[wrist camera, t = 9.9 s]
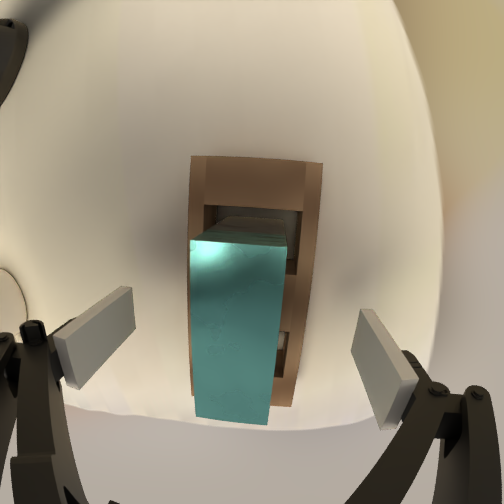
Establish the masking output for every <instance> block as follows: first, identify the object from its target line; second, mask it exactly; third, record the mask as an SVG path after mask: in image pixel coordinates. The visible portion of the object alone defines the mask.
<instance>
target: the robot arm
mask: <svg viewBox="0 0 504 504" xmlns="http://www.w3.org/2000/svg"><path fill="white" fill-rule="evenodd" d="M27 40H28V31H27V27H26V25H25V24H23V23H21V22H19V21H17V20H15V19H0V105H1V103H2V102H3V100H4V99H5V97H6V95H7V93H8V92H9V90H10V88H11V86H12V84H13V82H14V80H15V77H16V75H17V73H18V71H19V68H20V66H21V63H22V60H23V57H24V54H25V50H26V46H27ZM135 329H136V326H135V316H134V306H133V294H132V288H131V287H124V286H121V287H119V288H118V289H116V290H115V291H113V292H112V293H110V294H109V295H108V296H106V297H105V298H103V299H102V300H101V301H99V302H98V303H96V304H95V305H93V306H92V307H91V308H89V309H88V310H86V311H85V312H84V313H82V314H81V315H79V316H78V317H75V318H73V319H70V320H69V321H67V322H66V323H65V324H64V325H62V326H60V327H59V328H58V329H56V330H55V331H54V332H52V333H51V334H49V335H48V336H46V332H45V327H44V324H43V322H42V321H39V320H29V321H26V322H24V323H22V324H21V325H20V327H19V330H20V333H21V337H22V340H23V343H16V342H15V339H14V336H13V334H12V333H9V332H2V333H0V485H1V479H2V474H3V469H4V464H5V459H6V455H7V451H8V446H9V442H10V439H11V435H12V431H13V428H14V424H15V420H16V418H17V453H18V455H17V457H12V458H11V460H10V469H11V481H12V490H13V497H14V504H89V503H88V501H87V499H86V497H85V494H84V491H83V488H82V485H81V482H80V479H79V474H78V471H77V467H76V464H75V459H74V455H73V451H72V447H71V442H70V437H69V432H68V427H67V421H66V416H65V410H64V402H63V394H62V386H61V383H60V379H61V378H62V377H63V376H64V378H65V381H66V384H67V386H70V387H72V388H75V389H77V390H80V389H81V388H82V387H83V386H84V384H85V383H86V382H87V381H88V380H89V379H90V378H91V377H92V376H93V374H94V373H95V372H96V371H97V370H98V369H99V368H100V367H101V366H102V365H103V364H104V362H105V361H106V360H107V359H108V358H109V357H110V356H111V355H112V354H113V353H114V352H115V350H116V349H117V348H118V347H119V346H120V345H121V344H122V343H123V342H124V341H125V340H126V339H127V338H128V337H129V335H130V334H131V333H132V332H133V331H134V330H135ZM351 353H352V355H353V358H354V361H355V363H356V366H357V368H358V371H359V374H360V376H361V379H362V381H363V384H364V387H365V389H366V392H367V395H368V398H369V400H370V403H371V406H372V409H373V411H374V414H375V417H376V420H377V423H378V426H379V428H380V430H388V429H396V428H397V426H398V424H399V422H400V420H402V422H403V423H402V425H401V426H400V428H399V430H398V431H397V433H396V435H395V436H394V438H393V439H392V441H391V443H390V444H389V445H388V447H387V449H386V450H385V452H384V453H383V454H382V456H381V457H380V459H379V460H378V462H377V463H376V464H375V466H374V467H373V469H372V470H371V471H370V473H369V474H368V475H367V477H366V478H365V479H364V480H363V482H362V483H361V484H360V485H359V487H358V488H357V489H356V490H355V492H354V493H353V494H352V495H351V496H350V498H349V499H348V500H347V501H346V502H345V504H400V503H401V502H402V500H403V498H404V497H405V495H406V493H407V491H408V490H409V488H410V486H411V484H412V483H413V480H414V479H415V477H416V475H417V473H418V471H419V469H420V467H421V465H422V463H423V461H424V459H425V457H426V455H427V453H428V451H429V448H430V446H431V444H432V442H433V439H434V438H437V439H440V451H439V461H438V470H437V477H436V484H435V491H434V496H433V501H432V504H502V482H501V465H500V454H499V444H498V436H497V430H496V423H495V417H494V412H493V407H492V402H491V397H490V394H489V392H488V391H487V390H486V389H485V388H483V387H481V386H477V385H476V386H475V385H472V386H469V387H468V388H467V389H466V390H465V392H464V394H463V395H460V394H450V391H449V389H448V388H447V387H446V386H445V385H443V384H441V383H439V382H432V380H431V379H430V377H429V376H428V374H427V373H426V371H425V370H424V369H423V368H422V366H421V364H420V363H419V361H418V360H417V358H416V357H415V356H414V355H413V354H412V353H410V352H409V351H407V350H400V348H399V347H398V345H397V344H396V342H395V341H394V339H393V338H392V337H391V335H390V334H389V332H388V331H387V329H386V328H385V326H384V325H383V323H382V322H381V321H380V319H379V318H378V316H377V315H376V313H375V312H374V311H373V310H372V309H360V313H359V318H358V322H357V327H356V331H355V335H354V340H353V344H352V348H351ZM108 504H119V503H117V502H114V501H111V500H110V501H109V503H108Z"/></svg>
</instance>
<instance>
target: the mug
mask: <svg viewBox="0 0 504 504" xmlns="http://www.w3.org/2000/svg"><path fill="white" fill-rule="evenodd" d="M26 318H27V312H26V305H25V301H24V298H23V295H22V293H21V290H20V288H19V286H18V284H17V283H16V281H15V280H14V278H13V277H12V276H11V275H10V274H9V273H8V272H6V271H5V270H2V269H0V333H2V332H9V333H12V334H13V336H14V339H15V342H16V343H17V340H16V335H17V334H18V333H19V332H20V330H19V327H20V325H21V324H22V323H24V322H26Z"/></svg>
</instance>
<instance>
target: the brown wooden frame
mask: <svg viewBox="0 0 504 504" xmlns="http://www.w3.org/2000/svg"><path fill="white" fill-rule="evenodd" d="M322 170H323V163H314V162H304V161H293V160H281V159H267V158H250V157H226V156H191V165H190V183H189V206H188V243H187V302H188V339H189V362H190V379H191V394H192V396H194V384H193V366H192V345H191V314H190V240H191V239H193V238H195V237H196V236H198V235H199V234H201V233H202V232H204V231H206V230H207V229H209V228H210V227H212V226H213V225H215V224H216V216H217V205H223V206H239V207H254V208H268V209H281V210H293V211H298V214H297V226H296V237H295V248H294V258H293V260H292V259H286V269H285V279H284V289H283V299H282V309H281V318H280V328H279V331H285V337H284V345H283V350H277V354H276V362H275V370H274V378H273V386H272V393H271V401H270V406H284V407H291V405H292V400H293V395H294V389H295V384H296V379H297V373H298V368H299V362H300V356H301V350H302V344H303V338H304V332H305V326H306V319H307V312H308V305H309V298H310V291H311V283H312V275H313V267H314V258H315V249H316V240H317V230H318V220H319V209H320V197H321V184H322Z"/></svg>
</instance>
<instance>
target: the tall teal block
mask: <svg viewBox="0 0 504 504" xmlns="http://www.w3.org/2000/svg"><path fill="white" fill-rule="evenodd" d="M286 258H287V242H286V235H285V229H284V223H283V219H270V218H256V217H241V216H228V217H226V218H225V219H223V220H221V221H220V222H218V223H217V224H215V225H213V226H212V227H210V228H209V229H207V230H206V231H204V232H202V233H201V234H199V235H198V236H196V237H195V238H193V239H191V240H190V314H191V345H192V366H193V384H194V398H195V411H196V417H202V418H208V419H215V420H222V421H230V422H238V423H247V424H258V425H267V422H268V415H269V408H270V401H271V393H272V386H273V378H274V370H275V362H276V354H277V345H278V336H279V328H280V318H281V309H282V299H283V289H284V279H285V269H286Z"/></svg>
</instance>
